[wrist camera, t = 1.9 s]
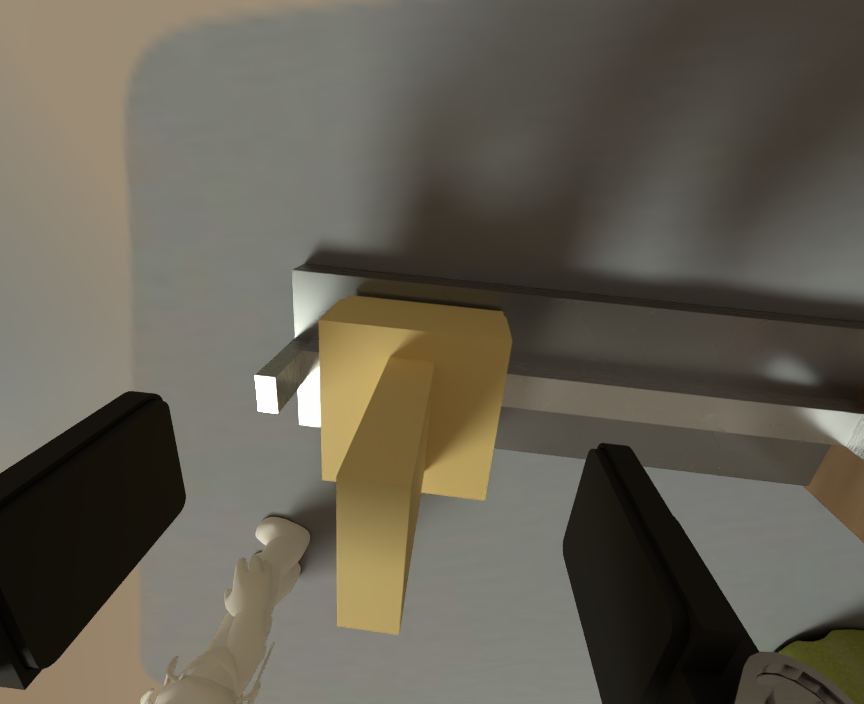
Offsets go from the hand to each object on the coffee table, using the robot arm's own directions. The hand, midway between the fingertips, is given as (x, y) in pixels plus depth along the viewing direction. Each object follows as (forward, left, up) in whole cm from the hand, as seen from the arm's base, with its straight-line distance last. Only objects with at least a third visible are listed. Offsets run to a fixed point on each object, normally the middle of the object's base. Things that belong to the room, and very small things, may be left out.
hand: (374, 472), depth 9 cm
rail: (-5, 0, -7) cm, 9 cm away
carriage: (0, 0, -5) cm, 6 cm away
